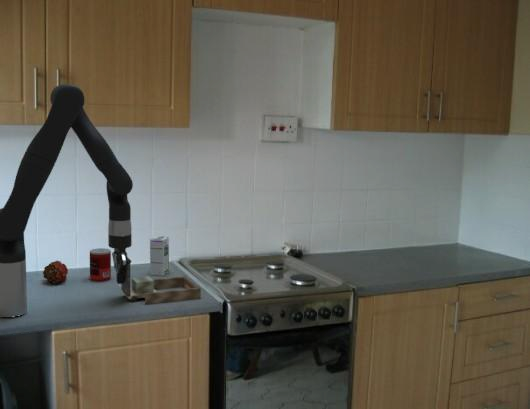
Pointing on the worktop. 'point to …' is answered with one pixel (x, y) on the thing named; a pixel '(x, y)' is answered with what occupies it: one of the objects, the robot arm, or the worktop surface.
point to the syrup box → (159, 255)
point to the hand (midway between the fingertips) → (120, 283)
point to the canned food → (100, 264)
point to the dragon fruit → (55, 272)
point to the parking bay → (173, 295)
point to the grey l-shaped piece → (136, 285)
